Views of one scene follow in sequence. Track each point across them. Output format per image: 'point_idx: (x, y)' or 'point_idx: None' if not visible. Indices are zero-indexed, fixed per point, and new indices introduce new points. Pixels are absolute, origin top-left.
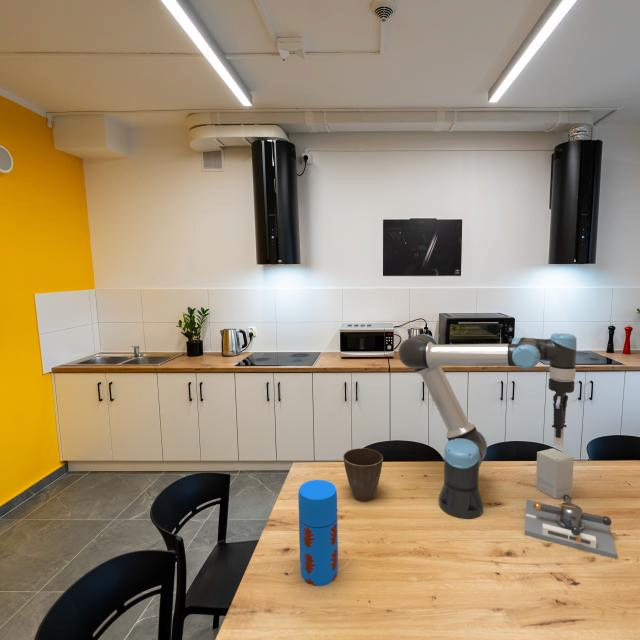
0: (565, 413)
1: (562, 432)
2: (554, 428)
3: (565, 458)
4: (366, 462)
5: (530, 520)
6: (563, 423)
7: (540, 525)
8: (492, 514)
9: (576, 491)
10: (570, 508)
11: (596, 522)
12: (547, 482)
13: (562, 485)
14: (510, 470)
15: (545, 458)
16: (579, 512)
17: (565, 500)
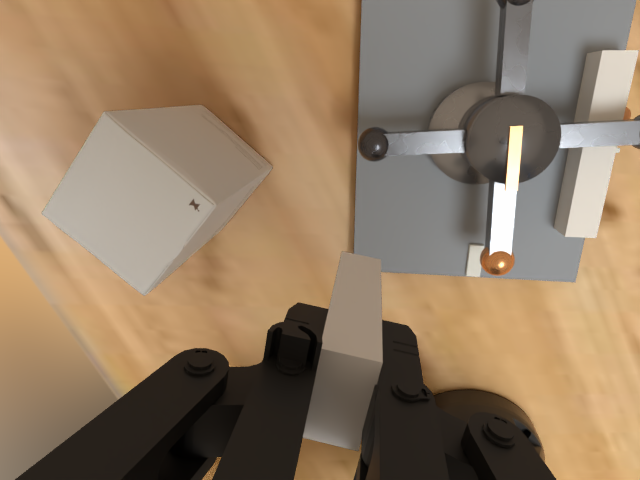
0: (63, 458)
1: (378, 339)
2: (359, 435)
3: (151, 160)
4: None
5: None
6: (309, 397)
7: (522, 232)
8: (476, 362)
9: (165, 84)
10: (522, 145)
11: (419, 31)
12: (236, 207)
13: (232, 150)
14: (131, 308)
15: (181, 254)
16: (547, 109)
17: (411, 154)
